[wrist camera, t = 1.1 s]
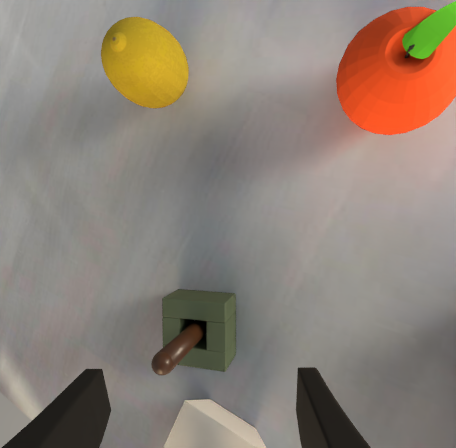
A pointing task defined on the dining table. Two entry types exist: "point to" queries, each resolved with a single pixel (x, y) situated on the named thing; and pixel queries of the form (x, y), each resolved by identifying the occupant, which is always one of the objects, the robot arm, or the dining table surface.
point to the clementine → (400, 70)
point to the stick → (178, 347)
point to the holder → (216, 326)
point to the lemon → (144, 62)
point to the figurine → (211, 428)
